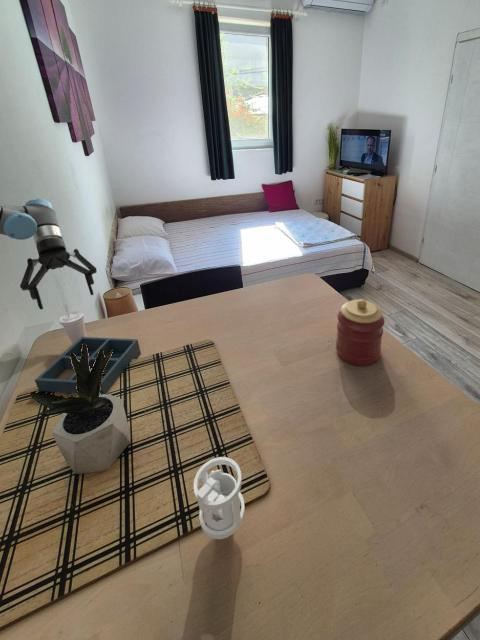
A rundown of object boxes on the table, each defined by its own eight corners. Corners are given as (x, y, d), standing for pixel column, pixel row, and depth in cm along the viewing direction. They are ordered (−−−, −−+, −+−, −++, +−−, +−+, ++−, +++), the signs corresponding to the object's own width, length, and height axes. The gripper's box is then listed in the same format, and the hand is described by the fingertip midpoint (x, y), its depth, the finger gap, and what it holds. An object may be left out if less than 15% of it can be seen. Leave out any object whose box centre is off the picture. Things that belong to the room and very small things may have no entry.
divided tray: (40, 395, 82) (34, 380, 80) (86, 350, 98) (81, 336, 96) (105, 399, 81) (100, 384, 79) (141, 353, 97) (137, 339, 95)
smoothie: (69, 340, 103) (56, 301, 98) (92, 334, 105) (81, 297, 100) (66, 352, 98) (52, 312, 92) (90, 346, 100) (78, 307, 95)
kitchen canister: (389, 359, 93) (397, 306, 86) (350, 372, 88) (354, 317, 81) (363, 334, 104) (368, 285, 97) (327, 344, 99) (330, 293, 93)
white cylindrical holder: (195, 540, 53) (182, 481, 48) (225, 501, 59) (217, 444, 53) (226, 570, 50) (216, 510, 44) (255, 526, 55) (250, 467, 49)
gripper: (93, 239, 116) (111, 292, 111) (4, 256, 103) (20, 318, 97) (92, 229, 110) (111, 284, 105) (-3, 245, 97) (13, 310, 91)
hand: (67, 300), depth 101 cm, fingers open, 13 cm apart
